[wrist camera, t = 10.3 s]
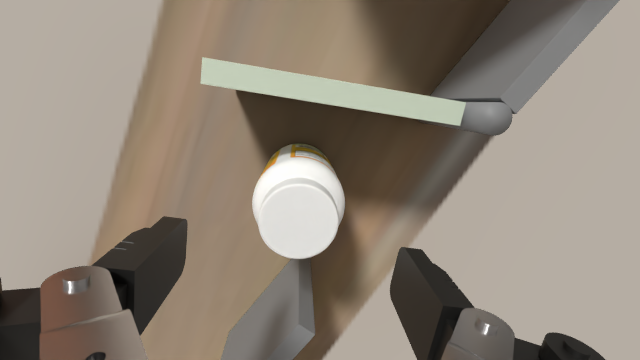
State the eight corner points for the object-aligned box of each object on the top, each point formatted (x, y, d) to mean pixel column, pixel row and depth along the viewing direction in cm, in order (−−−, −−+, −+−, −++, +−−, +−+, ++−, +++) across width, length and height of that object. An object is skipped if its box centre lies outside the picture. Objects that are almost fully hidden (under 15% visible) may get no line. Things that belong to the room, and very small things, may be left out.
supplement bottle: (279, 218, 26) (267, 286, 16) (254, 156, 24) (224, 191, 15) (342, 196, 25) (366, 252, 16) (320, 132, 24) (333, 153, 15)
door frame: (520, -17, 22) (662, -92, 14) (535, -1, 23) (682, -64, 14) (227, 331, 28) (193, 436, 19) (242, 340, 28) (216, 448, 19)
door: (413, 101, 24) (466, 102, 16) (409, 117, 24) (460, 126, 16) (235, 72, 22) (202, 57, 15) (233, 89, 23) (200, 83, 15)
